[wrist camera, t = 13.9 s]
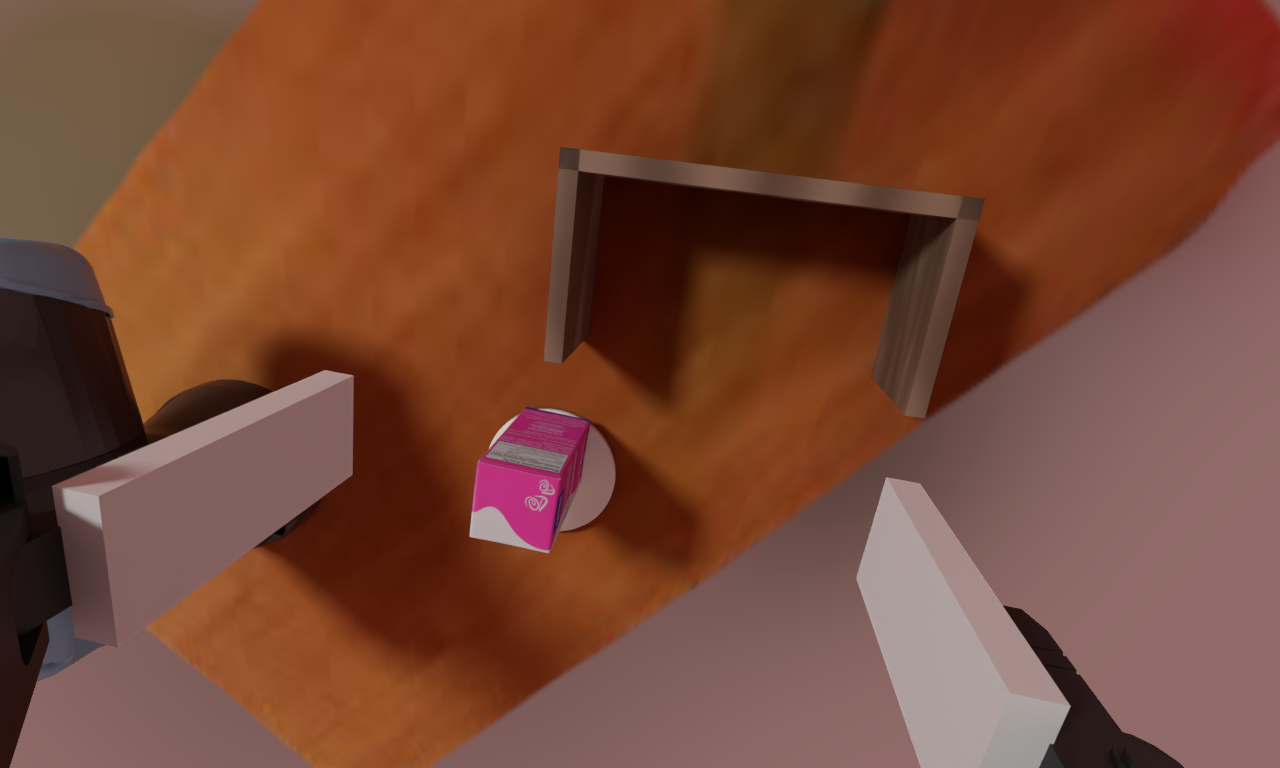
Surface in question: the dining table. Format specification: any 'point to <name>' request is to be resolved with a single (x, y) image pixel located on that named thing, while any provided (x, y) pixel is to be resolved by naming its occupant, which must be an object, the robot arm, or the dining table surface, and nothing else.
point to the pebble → (587, 476)
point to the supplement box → (529, 480)
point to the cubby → (931, 235)
